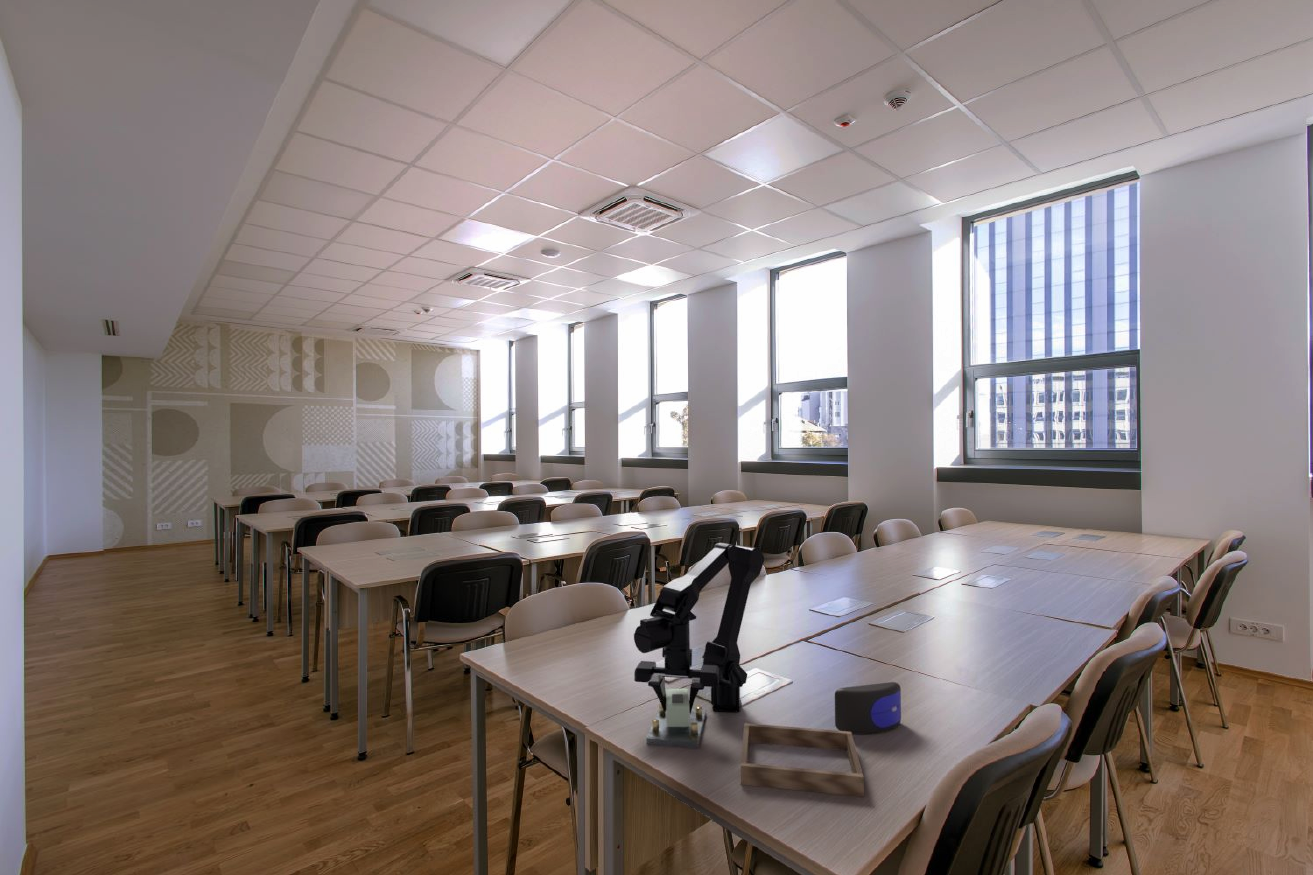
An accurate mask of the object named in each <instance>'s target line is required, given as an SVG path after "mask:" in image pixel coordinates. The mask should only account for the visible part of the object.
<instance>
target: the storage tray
mask: <svg viewBox="0 0 1313 875" xmlns="http://www.w3.org/2000/svg"><path fill="white" fill-rule="evenodd" d="M750 743H753V744H766V745H777V746H786V747H787V746H788V747H800V748H801V747H802V748H811V749H812V748H813V749H823V750H835V751H837V750H838V751H846V752H847V755H848V760H849V764H850V768H851V772H844V771H834V770H833V771H832V770H822V769H814V768H811V769H810V768H801V767H792V766H791V767H789V766H780V765H769V764H759V763H749V752H750V750H749V749H750ZM740 758H741V759H740V785H741V786H742V785H743V786H753V787H763V788H773V789H783V790H795V791H805V792H813V793H823V794H824V793H825V794H834V795H843V796H844V795H845V796H852V797H853V796H854V797H865V779H864V774H863V770H862V766H861V763H860V759H859V755H858V751H857V748H856V744H855V740H854V737H853V734H852V733H851V732H848V731H840V730H833V729H823V728H822V729H820V728H807V727H796V726H783V725H773V724H772V725H771V724H761V723H759V724H758V723H748V722H745V723H744V726H743V737H742V746H741V756H740Z"/></svg>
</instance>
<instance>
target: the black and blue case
mask: <svg viewBox="0 0 1313 875" xmlns="http://www.w3.org/2000/svg"><path fill="white" fill-rule="evenodd" d="M901 690H902V689H901V685H900V683H897V682H895V681H890V682H881V683H874V684H871V683H870V684H864V685H863V684H862V685H854V686H846V687H840V688H838V689H836V690H835V692H834V727H836V729H837V731H848V732H851V733H852V735H853V734H855V735H873V734H880V733H885V732H889V731H891V730H893V729H895V728H897V727H898V726H899V725H900V723H901V720H902V707H901V706H902V702H901V701H902V698H901V697H902V696H901V695H902V693H901V692H902V691H901Z"/></svg>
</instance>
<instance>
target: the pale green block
mask: <svg viewBox="0 0 1313 875" xmlns="http://www.w3.org/2000/svg"><path fill="white" fill-rule="evenodd" d="M665 691H666V712H667V727H690V710H689V697H690V695H689V689H688V688H665Z"/></svg>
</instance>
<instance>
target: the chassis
mask: <svg viewBox="0 0 1313 875" xmlns="http://www.w3.org/2000/svg"><path fill="white" fill-rule="evenodd" d="M706 716H707V709H706V708H703V707H702V706H700V705H696V706H695V707H692V711H691V714H690V727H667V712H664V710H663V707H662V705H661V703H659V704H658V710H657V712H656V715H655V718H653V719H652V724H651V727H650V729H649V731H648V734H647V735H646V738H645V739H646V740H645V741H646V745H652V746H665V747H673V748H674V747H675V748H676V747H677V748H688V749H699V744H700V741H701V737H702V734H703V728H704V725H705V722H706V721H705V720H706Z"/></svg>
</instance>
